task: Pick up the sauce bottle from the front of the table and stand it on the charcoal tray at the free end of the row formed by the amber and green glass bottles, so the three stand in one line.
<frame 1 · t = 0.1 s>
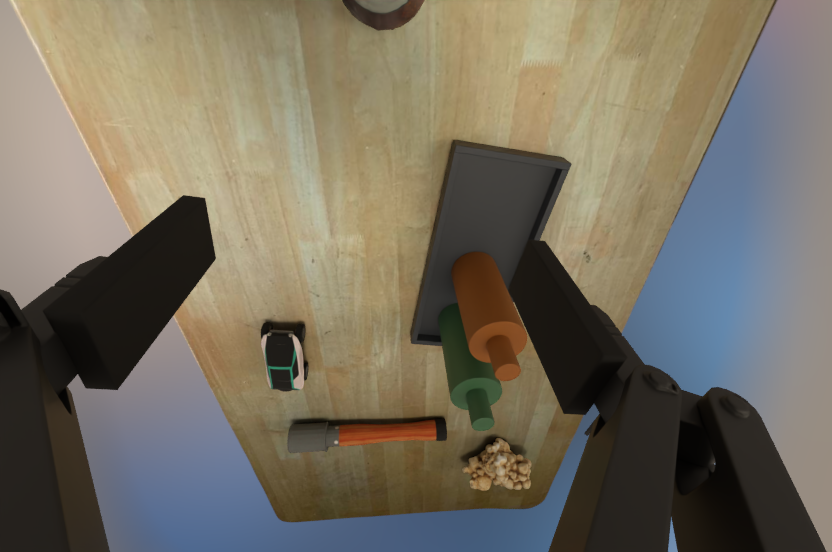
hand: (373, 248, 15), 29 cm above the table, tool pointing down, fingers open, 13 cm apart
toy car: (288, 345, 58), on the table
amber bottle: (473, 270, 50), point 1 cm above the table, touching tray
tray: (475, 258, 50), on the table
green bottle: (458, 318, 55), point 1 cm above the table, touching tray
mineral formation: (497, 452, 81), on the table
stick grenade: (369, 421, 71), on the table
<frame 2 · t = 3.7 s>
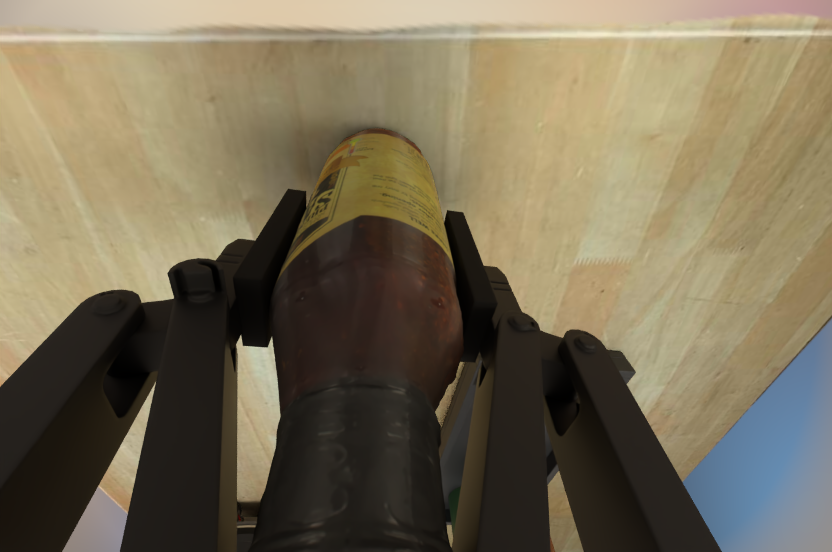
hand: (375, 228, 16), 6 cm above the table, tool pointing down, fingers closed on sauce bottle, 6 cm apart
toy car: (263, 518, 47), on the table
tray: (497, 443, 39), on the table
sauce bottle: (379, 181, 21), on the table, touching gripper
green bottle: (473, 495, 44), point 1 cm above the table, touching tray
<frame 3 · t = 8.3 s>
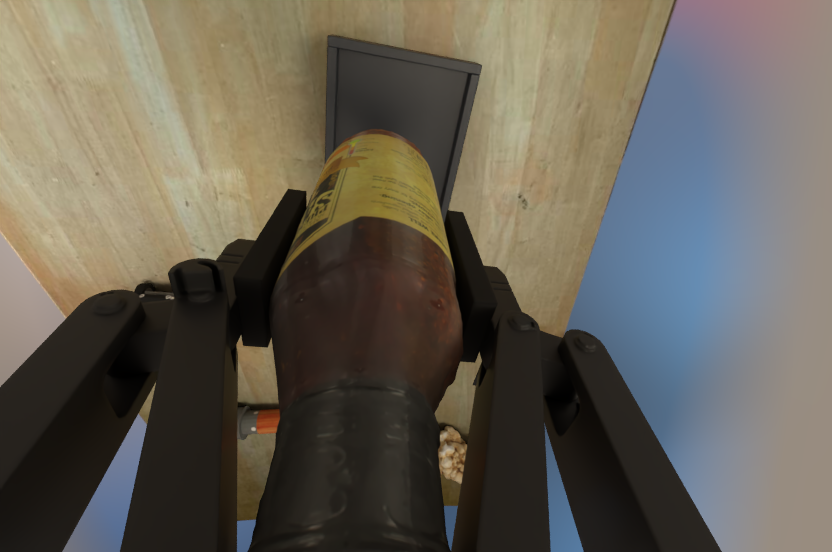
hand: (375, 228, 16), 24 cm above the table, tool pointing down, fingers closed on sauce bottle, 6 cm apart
toy car: (181, 314, 49), on the table
tray: (386, 202, 41), on the table
sauce bottle: (379, 181, 21), point 18 cm above the table, touching gripper
mineral formation: (449, 443, 73), on the table
stick grenade: (297, 406, 63), on the table
when the fingers open (7 cm above the table, at t = 13.3 s): sauce bottle stays where it is, resting on tray.
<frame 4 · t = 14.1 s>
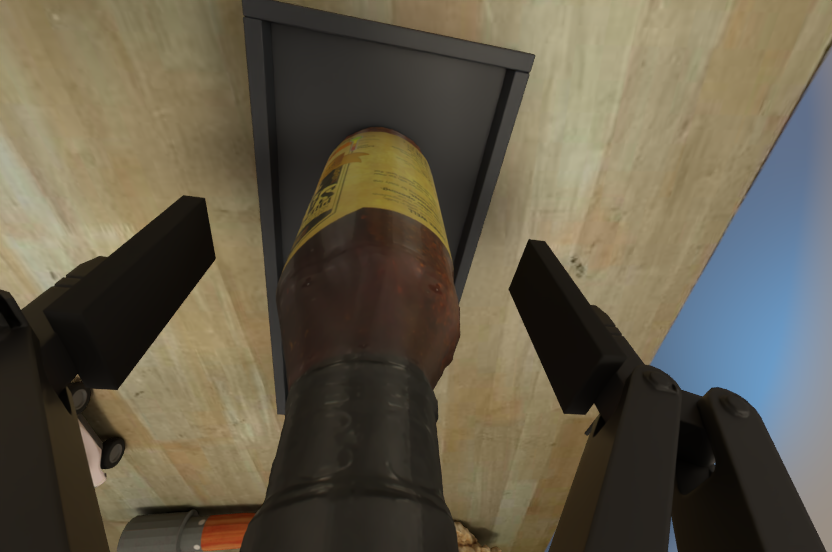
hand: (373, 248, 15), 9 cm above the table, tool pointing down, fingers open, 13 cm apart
toy car: (77, 413, 35), on the table
tray: (368, 271, 27), on the table
sauce bottle: (379, 178, 22), point 1 cm above the table, touching tray
mineral formation: (456, 536, 58), on the table
stick grenade: (259, 506, 48), on the table
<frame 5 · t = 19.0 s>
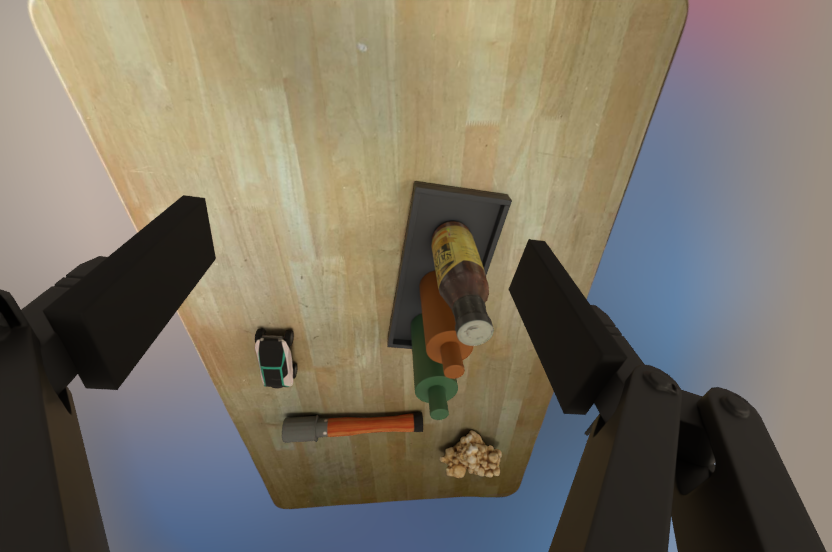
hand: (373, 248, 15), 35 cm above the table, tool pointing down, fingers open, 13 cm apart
toy car: (279, 348, 67), on the table
amber bottle: (438, 285, 59), point 1 cm above the table, touching tray
tray: (439, 275, 59), on the table
sauce bottle: (450, 238, 54), point 1 cm above the table, touching tray
green bottle: (428, 325, 64), point 1 cm above the table, touching tray
mineral formation: (471, 444, 90), on the table
stick grenade: (355, 415, 80), on the table
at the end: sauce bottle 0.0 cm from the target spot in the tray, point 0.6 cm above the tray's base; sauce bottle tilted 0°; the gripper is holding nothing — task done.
